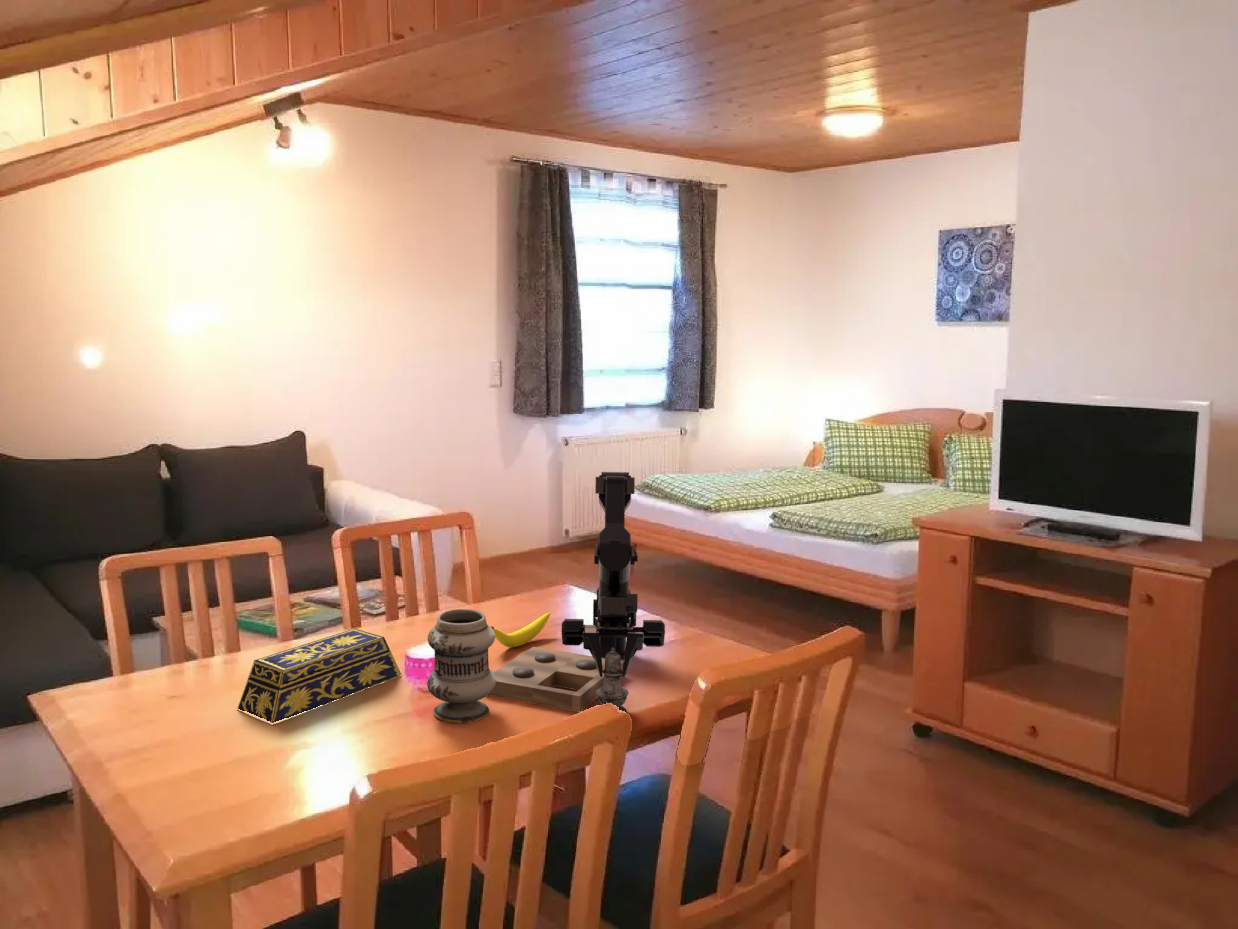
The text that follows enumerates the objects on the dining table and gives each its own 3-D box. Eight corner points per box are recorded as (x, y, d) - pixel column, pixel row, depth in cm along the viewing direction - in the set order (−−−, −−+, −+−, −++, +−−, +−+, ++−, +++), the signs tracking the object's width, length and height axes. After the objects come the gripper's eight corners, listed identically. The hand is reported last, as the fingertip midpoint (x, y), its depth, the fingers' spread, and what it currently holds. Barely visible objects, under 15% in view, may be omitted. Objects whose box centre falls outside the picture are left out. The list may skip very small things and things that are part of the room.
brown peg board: (533, 660, 204) (533, 644, 203) (622, 675, 196) (623, 658, 196) (483, 694, 186) (483, 675, 185) (579, 712, 178) (580, 693, 177)
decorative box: (402, 677, 195) (401, 633, 193) (271, 728, 170) (269, 678, 169) (365, 665, 201) (364, 623, 199) (234, 713, 176) (231, 664, 175)
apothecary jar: (439, 731, 169) (438, 629, 166) (419, 706, 180) (417, 610, 177) (505, 719, 175) (505, 620, 172) (482, 695, 185) (482, 602, 182)
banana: (555, 635, 221) (555, 607, 220) (496, 657, 205) (496, 628, 205) (545, 632, 222) (545, 605, 221) (486, 654, 207) (486, 625, 206)
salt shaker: (624, 719, 175) (625, 653, 174) (592, 715, 177) (593, 651, 175) (631, 706, 181) (632, 643, 179) (599, 703, 182) (600, 640, 180)
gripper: (562, 576, 179) (558, 655, 170) (665, 577, 179) (667, 657, 170) (564, 605, 188) (560, 682, 179) (662, 607, 188) (664, 684, 179)
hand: (612, 676), depth 176 cm, fingers closed on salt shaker, 4 cm apart
